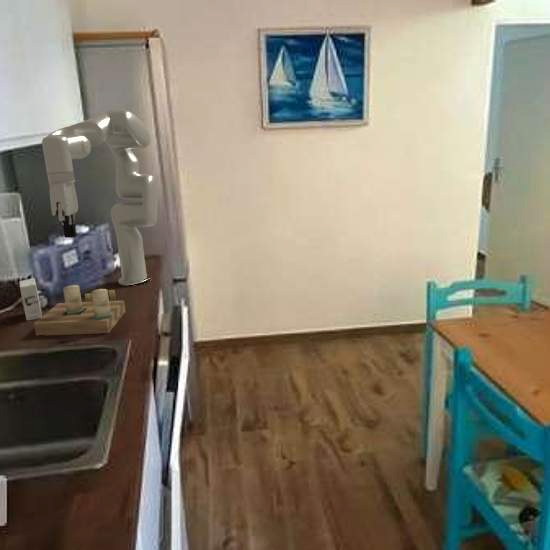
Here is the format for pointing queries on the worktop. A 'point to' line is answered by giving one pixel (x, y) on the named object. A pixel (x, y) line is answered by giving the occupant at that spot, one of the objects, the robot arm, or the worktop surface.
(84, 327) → the board
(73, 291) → the peg
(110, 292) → the gavel
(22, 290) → the ink box
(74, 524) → the worktop surface
